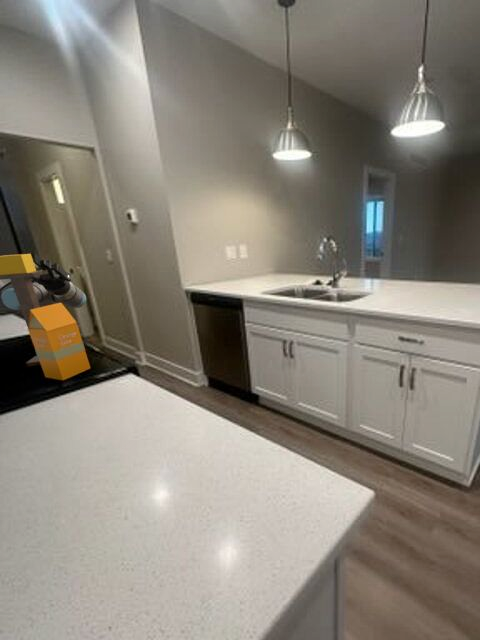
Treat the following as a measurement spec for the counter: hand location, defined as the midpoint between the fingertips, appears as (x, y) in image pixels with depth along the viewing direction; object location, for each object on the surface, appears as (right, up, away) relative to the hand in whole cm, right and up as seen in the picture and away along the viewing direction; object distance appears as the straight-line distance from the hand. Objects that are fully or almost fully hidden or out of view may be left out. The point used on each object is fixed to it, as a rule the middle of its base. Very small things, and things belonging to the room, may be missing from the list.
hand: (21, 258), depth 104 cm
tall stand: (+3, -31, +8) cm, 32 cm away
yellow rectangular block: (0, -4, +1) cm, 4 cm away
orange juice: (+16, -35, -3) cm, 38 cm away
